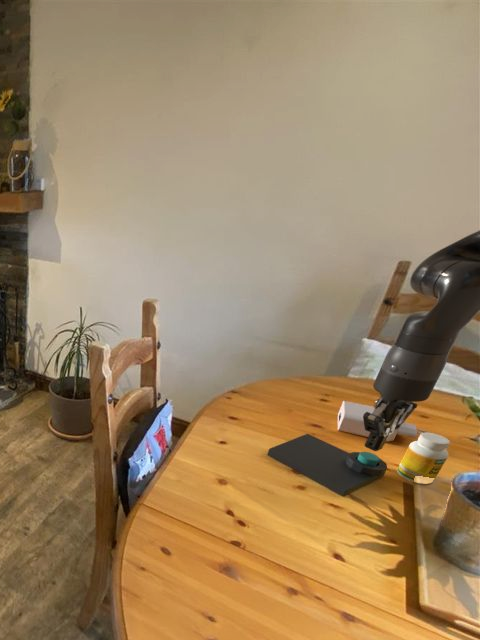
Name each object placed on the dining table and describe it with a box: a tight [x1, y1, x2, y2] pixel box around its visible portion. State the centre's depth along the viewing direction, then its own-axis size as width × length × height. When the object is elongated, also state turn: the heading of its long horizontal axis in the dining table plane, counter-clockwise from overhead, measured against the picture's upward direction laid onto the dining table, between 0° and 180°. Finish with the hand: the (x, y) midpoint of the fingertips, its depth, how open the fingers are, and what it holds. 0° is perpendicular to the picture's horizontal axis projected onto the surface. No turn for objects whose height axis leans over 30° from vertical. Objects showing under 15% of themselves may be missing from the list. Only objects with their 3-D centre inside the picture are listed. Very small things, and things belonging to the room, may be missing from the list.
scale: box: [266, 433, 388, 498], centre depth 88 cm, size 15×13×4 cm
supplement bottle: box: [396, 432, 451, 483], centre depth 82 cm, size 5×5×10 cm
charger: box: [337, 400, 428, 443], centre depth 97 cm, size 5×9×15 cm
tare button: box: [357, 451, 380, 466], centre depth 84 cm, size 3×3×2 cm
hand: (372, 448), depth 83 cm, fingers closed
